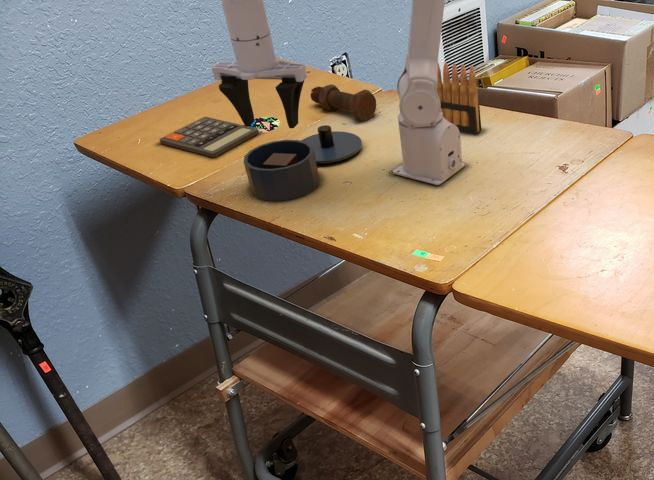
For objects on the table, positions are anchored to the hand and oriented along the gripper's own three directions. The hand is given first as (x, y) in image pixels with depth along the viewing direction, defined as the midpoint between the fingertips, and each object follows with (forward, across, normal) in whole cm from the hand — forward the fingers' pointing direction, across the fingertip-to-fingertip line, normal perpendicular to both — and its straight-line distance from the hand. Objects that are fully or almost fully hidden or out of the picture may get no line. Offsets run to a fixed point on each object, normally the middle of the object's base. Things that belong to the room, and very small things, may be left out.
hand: (271, 124), depth 112 cm
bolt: (+11, -2, +31) cm, 33 cm away
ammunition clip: (+11, +23, +25) cm, 35 cm away
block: (+10, 0, 0) cm, 10 cm away
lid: (+10, +2, +13) cm, 16 cm away
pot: (+10, 0, 0) cm, 10 cm away
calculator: (+10, -23, +16) cm, 30 cm away
